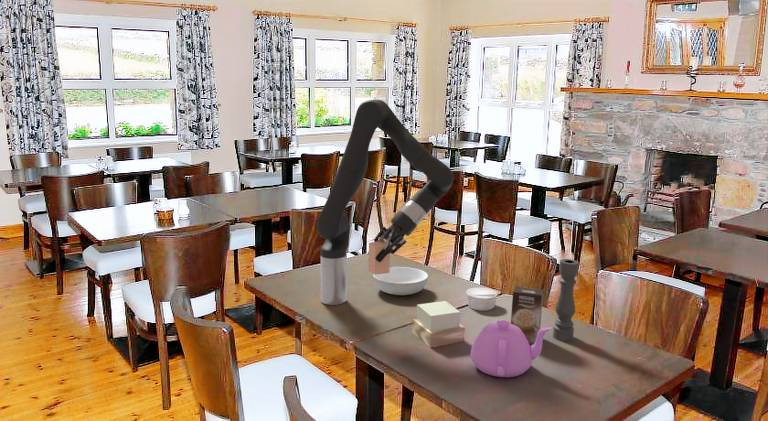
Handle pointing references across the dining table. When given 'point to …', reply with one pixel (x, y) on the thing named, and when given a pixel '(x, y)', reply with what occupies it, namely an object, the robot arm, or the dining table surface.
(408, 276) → the serving bowl
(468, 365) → the dining table surface
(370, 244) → the terracotta block
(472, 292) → the ramekin
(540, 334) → the teapot
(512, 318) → the coffee box
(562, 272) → the candle holder
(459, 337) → the tower base block
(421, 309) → the tower top block
